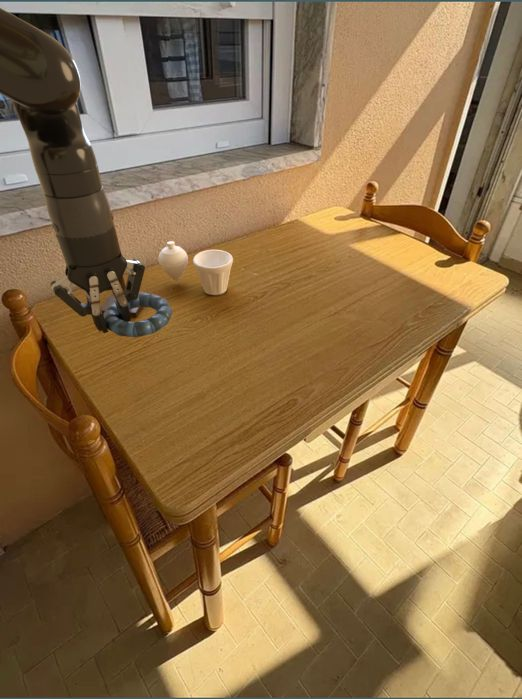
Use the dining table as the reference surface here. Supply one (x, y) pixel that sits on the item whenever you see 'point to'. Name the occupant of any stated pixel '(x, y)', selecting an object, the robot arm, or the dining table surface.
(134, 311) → the stand
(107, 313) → the blue teething ring
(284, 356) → the dining table surface
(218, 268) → the cup
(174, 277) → the spinning top
